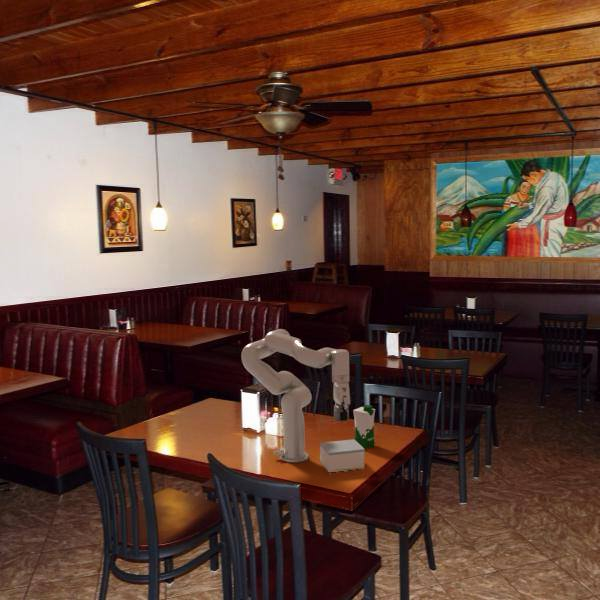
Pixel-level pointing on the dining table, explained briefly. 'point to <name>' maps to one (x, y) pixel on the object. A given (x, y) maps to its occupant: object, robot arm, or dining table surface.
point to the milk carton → (364, 426)
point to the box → (342, 461)
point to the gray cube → (337, 412)
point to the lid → (341, 447)
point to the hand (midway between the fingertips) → (341, 417)
